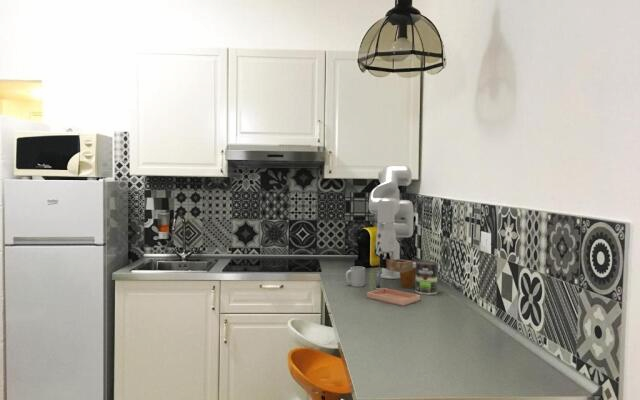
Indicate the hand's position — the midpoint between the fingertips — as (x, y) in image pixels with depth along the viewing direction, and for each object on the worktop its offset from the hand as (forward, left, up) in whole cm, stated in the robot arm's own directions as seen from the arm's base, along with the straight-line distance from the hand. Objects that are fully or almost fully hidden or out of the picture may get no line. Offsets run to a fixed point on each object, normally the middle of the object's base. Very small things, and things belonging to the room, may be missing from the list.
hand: (385, 266), depth 209 cm
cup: (-10, -26, -14) cm, 31 cm away
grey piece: (-12, -13, -14) cm, 22 cm away
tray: (0, +4, -14) cm, 15 cm away
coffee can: (-23, +7, -14) cm, 28 cm away
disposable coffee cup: (-27, -6, -14) cm, 31 cm away
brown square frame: (0, +5, 0) cm, 5 cm away
